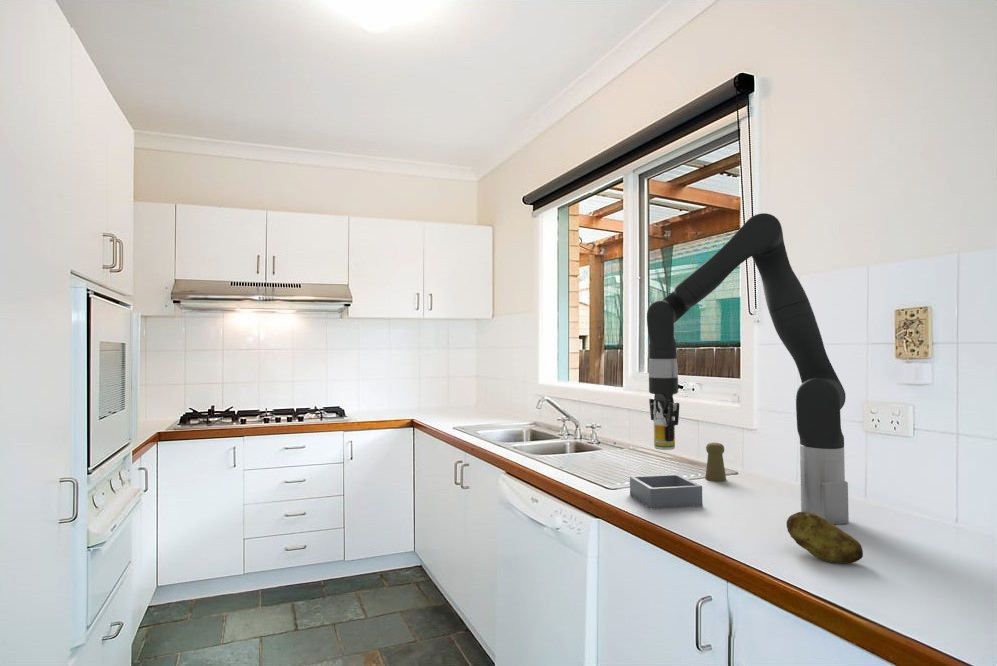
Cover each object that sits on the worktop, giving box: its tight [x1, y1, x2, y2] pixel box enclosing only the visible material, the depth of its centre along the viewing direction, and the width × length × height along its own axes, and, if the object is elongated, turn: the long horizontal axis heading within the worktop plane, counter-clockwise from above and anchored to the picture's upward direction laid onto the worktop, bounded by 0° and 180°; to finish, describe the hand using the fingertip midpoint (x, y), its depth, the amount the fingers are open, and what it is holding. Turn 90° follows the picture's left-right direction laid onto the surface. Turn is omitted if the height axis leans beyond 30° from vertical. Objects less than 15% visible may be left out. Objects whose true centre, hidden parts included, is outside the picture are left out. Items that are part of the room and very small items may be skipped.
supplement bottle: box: [653, 412, 676, 451], centre depth 159 cm, size 5×5×10 cm
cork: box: [704, 442, 727, 483], centre depth 181 cm, size 6×6×11 cm
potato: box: [786, 511, 864, 564], centre depth 116 cm, size 8×13×8 cm, turn 23°
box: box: [629, 473, 703, 509], centre depth 159 cm, size 14×14×5 cm
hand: (664, 438), depth 159 cm, fingers closed on supplement bottle, 5 cm apart
